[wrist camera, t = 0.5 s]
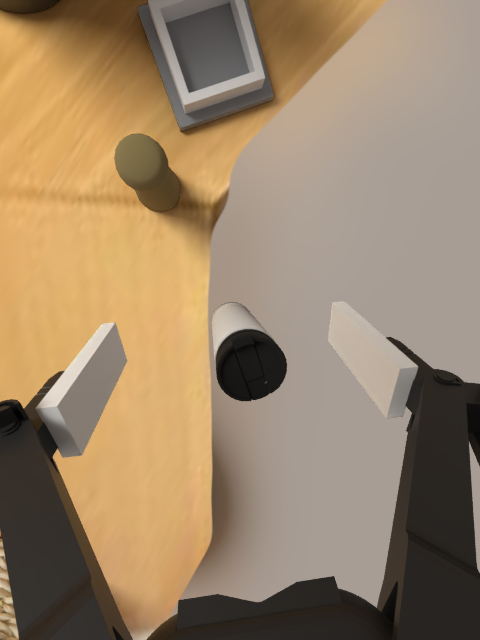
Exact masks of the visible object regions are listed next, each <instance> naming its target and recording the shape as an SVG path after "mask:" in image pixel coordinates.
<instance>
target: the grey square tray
mask: <svg viewBox="0 0 480 640" xmlns="http://www.w3.org/2000/svg"><path fill="white" fill-rule="evenodd" d="M137 10H138V13H139V16H140V19H141V22H142V25H143V28H144V30H145V33H146V36H147V39H148V42H149V44H150V47H151V50H152V53H153V56H154V58H155V61H156V64H157V67H158V70H159V72H160V75H161V78H162V81H163V84H164V86H165V89H166V92H167V95H168V98H169V100H170V103H171V106H172V109H173V112H174V114H175V117H176V120H177V123H178V126H179V128H180V131H184V130H187V129H190V128H193V127H196V126H199V125H202V124H205V123H208V122H211V121H214V120H216V119H219V118H222V117H225V116H228V115H231V114H234V113H237V112H240V111H243V110H246V109H249V108H252V107H254V106H257V105H260V104H263V103H266V102H269V101H272V99H273V97H274V95H273V91H272V87H271V84H270V80H269V76H268V73H267V69H266V65H265V61H264V58H263V54H262V50H261V47H260V43H259V39H258V36H257V32H256V28H255V24H254V21H253V17H252V13H251V10H250V6H249V2H248V0H148V4H145V5H142V6H138V7H137Z"/></svg>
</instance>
